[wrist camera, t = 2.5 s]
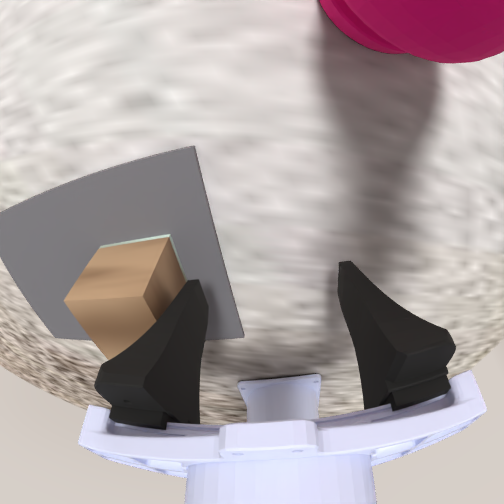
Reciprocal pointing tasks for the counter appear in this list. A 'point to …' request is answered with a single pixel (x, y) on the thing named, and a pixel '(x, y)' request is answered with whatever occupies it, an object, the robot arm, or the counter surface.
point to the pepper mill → (423, 27)
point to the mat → (116, 235)
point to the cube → (126, 291)
